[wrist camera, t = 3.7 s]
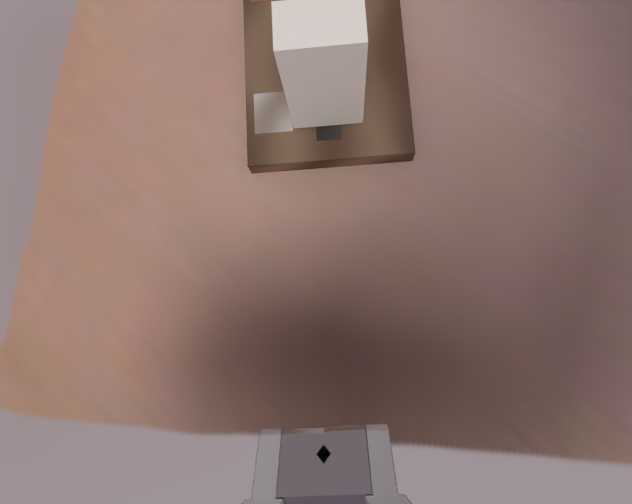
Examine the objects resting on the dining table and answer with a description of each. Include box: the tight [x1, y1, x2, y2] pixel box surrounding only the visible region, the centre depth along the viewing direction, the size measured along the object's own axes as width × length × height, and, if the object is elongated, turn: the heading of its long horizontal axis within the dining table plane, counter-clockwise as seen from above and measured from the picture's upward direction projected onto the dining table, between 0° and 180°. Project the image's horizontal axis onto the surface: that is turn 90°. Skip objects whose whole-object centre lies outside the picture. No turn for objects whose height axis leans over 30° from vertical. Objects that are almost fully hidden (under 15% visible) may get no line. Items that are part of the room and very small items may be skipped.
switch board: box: [243, 0, 415, 173], centre depth 35 cm, size 12×22×2 cm, turn 3°
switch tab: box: [271, 0, 368, 129], centre depth 28 cm, size 5×3×9 cm, turn 93°
